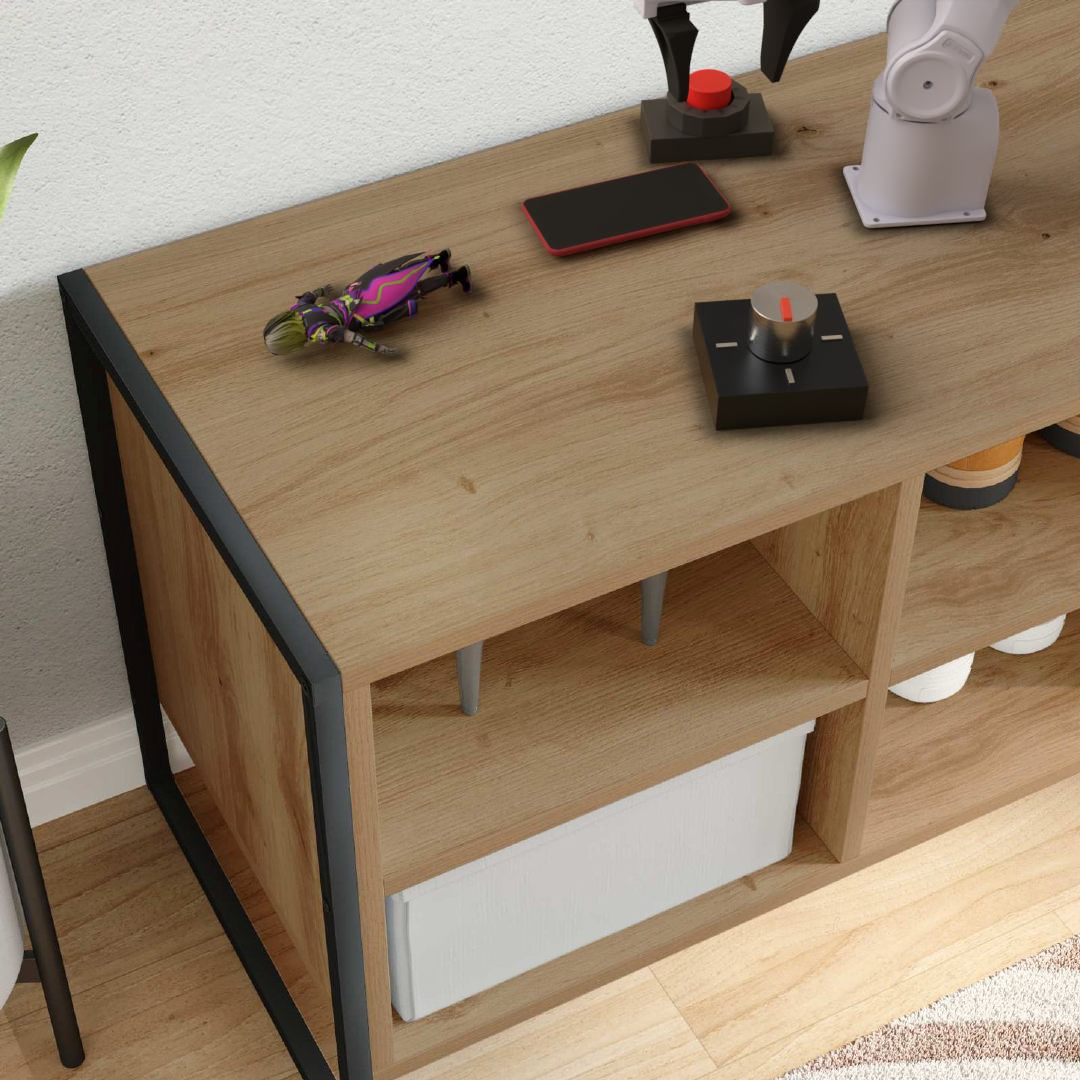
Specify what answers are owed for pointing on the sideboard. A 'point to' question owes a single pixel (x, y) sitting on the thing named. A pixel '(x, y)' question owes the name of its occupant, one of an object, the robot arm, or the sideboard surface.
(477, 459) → the sideboard surface
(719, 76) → the light button
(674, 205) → the smartphone
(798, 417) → the dimmer panel
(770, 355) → the dimmer knob
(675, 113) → the light switch
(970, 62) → the robot arm
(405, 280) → the character figure
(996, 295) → the sideboard surface
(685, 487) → the sideboard surface
